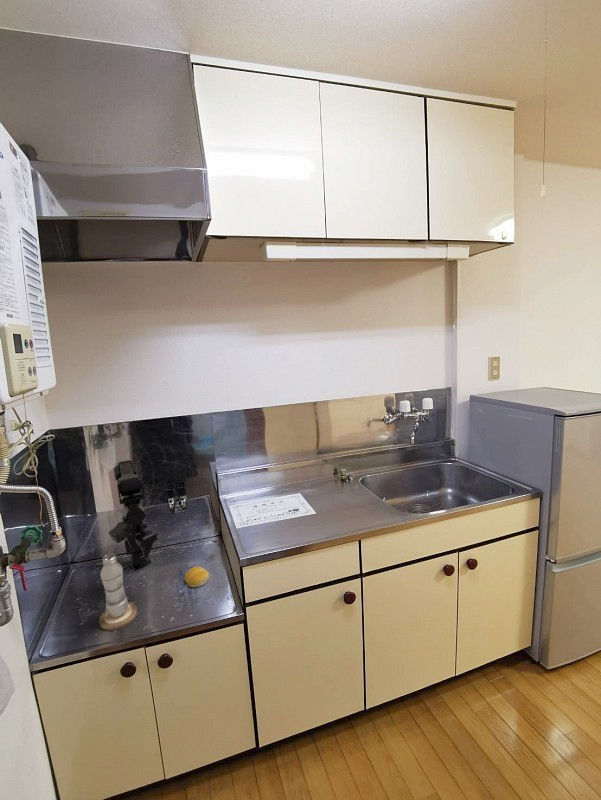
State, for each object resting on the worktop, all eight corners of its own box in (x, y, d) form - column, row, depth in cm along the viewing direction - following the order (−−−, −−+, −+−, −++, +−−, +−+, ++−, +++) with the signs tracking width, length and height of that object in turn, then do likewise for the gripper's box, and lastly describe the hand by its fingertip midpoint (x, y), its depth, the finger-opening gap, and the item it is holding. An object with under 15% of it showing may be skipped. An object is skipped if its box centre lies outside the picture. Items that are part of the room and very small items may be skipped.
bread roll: (193, 591, 137) (191, 581, 136) (182, 580, 144) (180, 570, 143) (214, 580, 142) (213, 570, 142) (202, 570, 149) (201, 560, 148)
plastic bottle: (103, 621, 123) (93, 564, 119) (112, 606, 129) (102, 551, 126) (124, 619, 123) (115, 562, 119) (132, 604, 130) (123, 549, 126)
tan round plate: (94, 619, 126) (93, 615, 126) (127, 600, 134) (126, 596, 134) (109, 636, 119) (108, 631, 119) (143, 614, 127) (142, 610, 127)
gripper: (98, 514, 136) (105, 555, 139) (123, 530, 124) (130, 575, 127) (129, 502, 144) (135, 541, 147) (155, 516, 132) (161, 558, 135)
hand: (139, 553), depth 139 cm, fingers open, 9 cm apart
